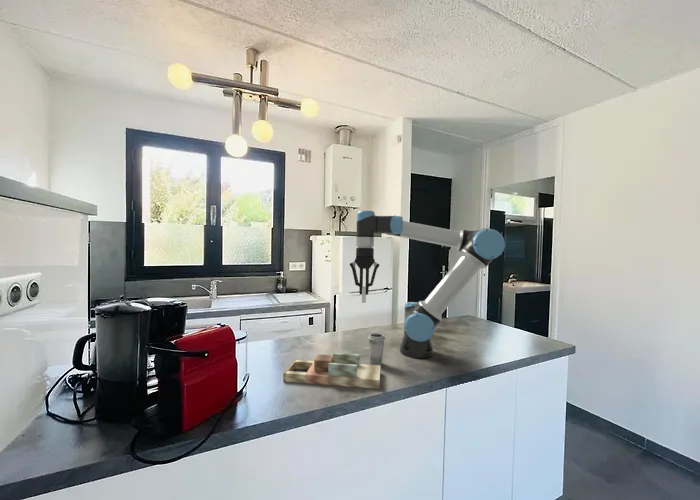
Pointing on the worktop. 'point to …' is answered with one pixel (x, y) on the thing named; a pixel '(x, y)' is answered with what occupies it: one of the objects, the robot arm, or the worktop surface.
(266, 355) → the worktop surface
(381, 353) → the cup
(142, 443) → the worktop surface
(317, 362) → the block
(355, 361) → the compartment tray
